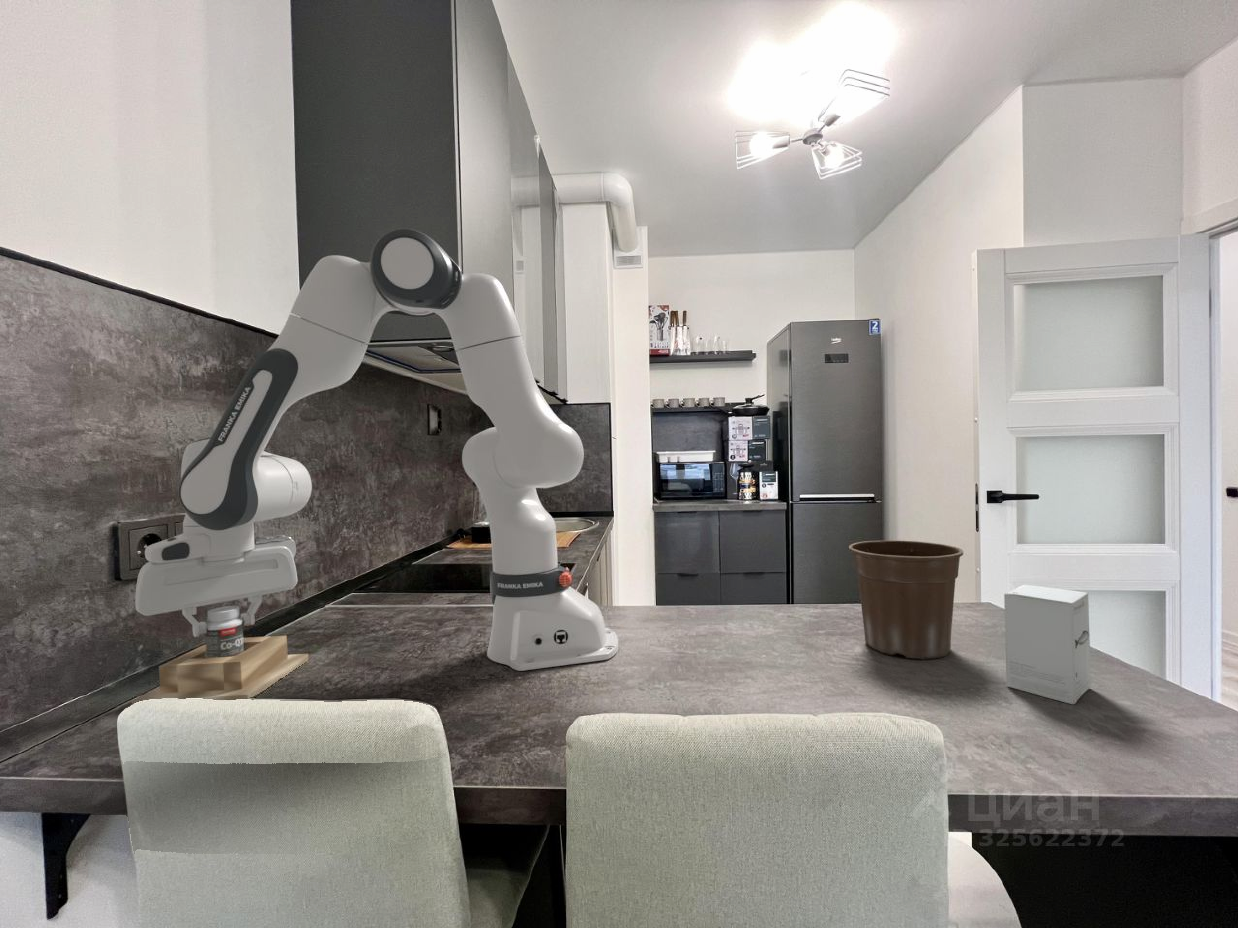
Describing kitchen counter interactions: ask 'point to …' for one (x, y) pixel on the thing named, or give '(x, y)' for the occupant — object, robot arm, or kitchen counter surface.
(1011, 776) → the kitchen counter surface
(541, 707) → the kitchen counter surface
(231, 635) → the pill bottle
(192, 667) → the birch socket block
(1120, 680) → the kitchen counter surface
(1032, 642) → the supplement box
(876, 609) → the plant pot
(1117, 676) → the kitchen counter surface
